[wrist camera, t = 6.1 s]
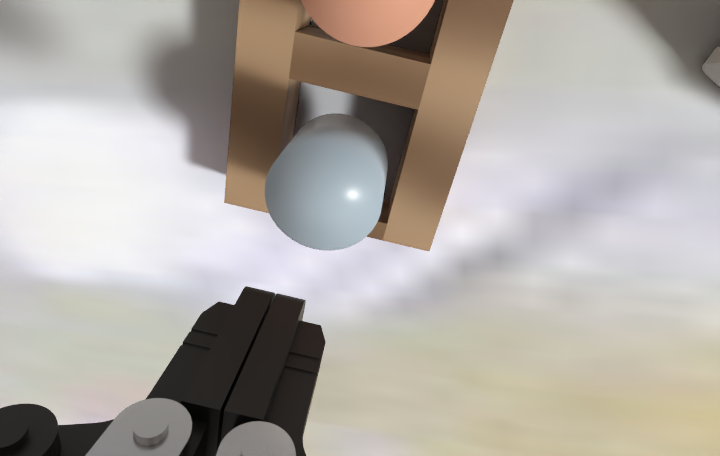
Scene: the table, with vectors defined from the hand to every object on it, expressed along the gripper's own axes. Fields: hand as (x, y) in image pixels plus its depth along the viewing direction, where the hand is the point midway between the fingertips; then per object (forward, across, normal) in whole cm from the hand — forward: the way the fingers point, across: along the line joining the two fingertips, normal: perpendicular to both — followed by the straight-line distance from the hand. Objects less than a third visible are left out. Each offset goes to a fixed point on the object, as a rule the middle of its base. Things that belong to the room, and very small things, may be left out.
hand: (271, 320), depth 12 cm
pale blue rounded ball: (+11, 0, 0) cm, 11 cm away
